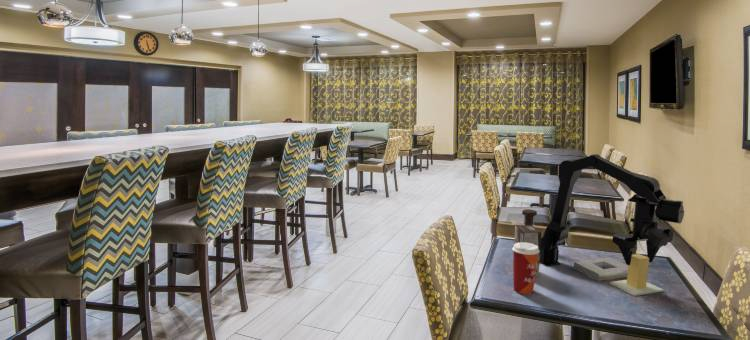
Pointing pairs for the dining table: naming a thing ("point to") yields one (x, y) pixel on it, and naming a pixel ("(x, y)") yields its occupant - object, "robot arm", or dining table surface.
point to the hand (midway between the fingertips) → (639, 263)
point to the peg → (638, 271)
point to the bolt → (529, 216)
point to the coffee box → (529, 239)
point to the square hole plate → (596, 272)
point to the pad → (634, 291)
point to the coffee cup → (524, 266)
